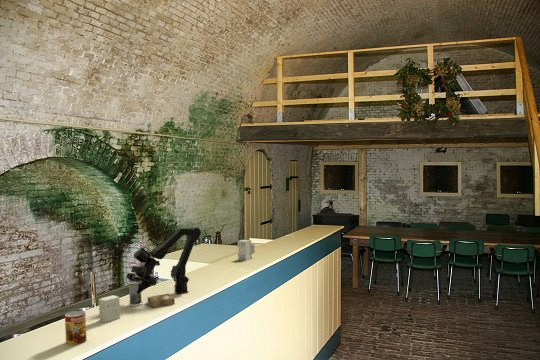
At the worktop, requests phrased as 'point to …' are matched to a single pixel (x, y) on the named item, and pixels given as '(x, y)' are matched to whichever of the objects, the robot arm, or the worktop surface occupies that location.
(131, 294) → the cylinder
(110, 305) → the small box
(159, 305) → the stand
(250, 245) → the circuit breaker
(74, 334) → the canned food
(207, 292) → the worktop surface
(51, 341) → the worktop surface
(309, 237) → the worktop surface
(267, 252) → the worktop surface
